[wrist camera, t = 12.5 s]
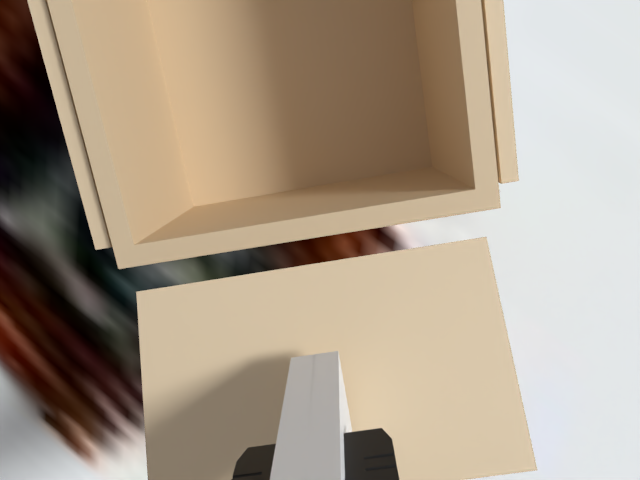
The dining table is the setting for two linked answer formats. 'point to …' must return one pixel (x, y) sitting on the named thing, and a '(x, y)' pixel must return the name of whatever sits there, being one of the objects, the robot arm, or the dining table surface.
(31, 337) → the dining table surface
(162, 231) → the carton
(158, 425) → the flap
